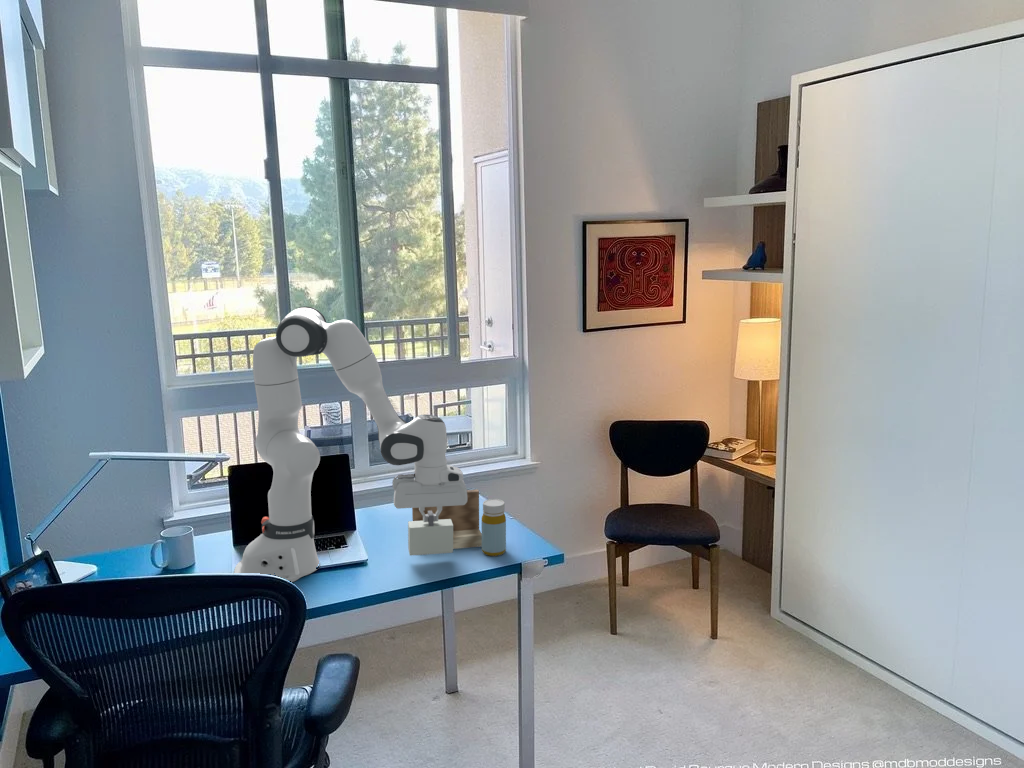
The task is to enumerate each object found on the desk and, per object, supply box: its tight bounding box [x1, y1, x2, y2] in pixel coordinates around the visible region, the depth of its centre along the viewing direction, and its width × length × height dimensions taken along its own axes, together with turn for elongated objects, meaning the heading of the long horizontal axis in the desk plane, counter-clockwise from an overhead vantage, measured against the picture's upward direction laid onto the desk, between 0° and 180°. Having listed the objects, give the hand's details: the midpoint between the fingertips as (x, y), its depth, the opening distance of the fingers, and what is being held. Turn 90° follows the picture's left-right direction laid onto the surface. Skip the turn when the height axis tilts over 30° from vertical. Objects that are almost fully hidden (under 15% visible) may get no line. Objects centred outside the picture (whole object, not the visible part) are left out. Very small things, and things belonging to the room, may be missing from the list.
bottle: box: [481, 498, 507, 557], centre depth 218 cm, size 7×7×15 cm
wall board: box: [411, 488, 482, 550], centre depth 225 cm, size 20×10×14 cm, turn 102°
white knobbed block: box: [407, 511, 454, 557], centre depth 211 cm, size 12×5×11 cm, turn 102°
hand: (430, 521), depth 210 cm, fingers closed on white knobbed block
